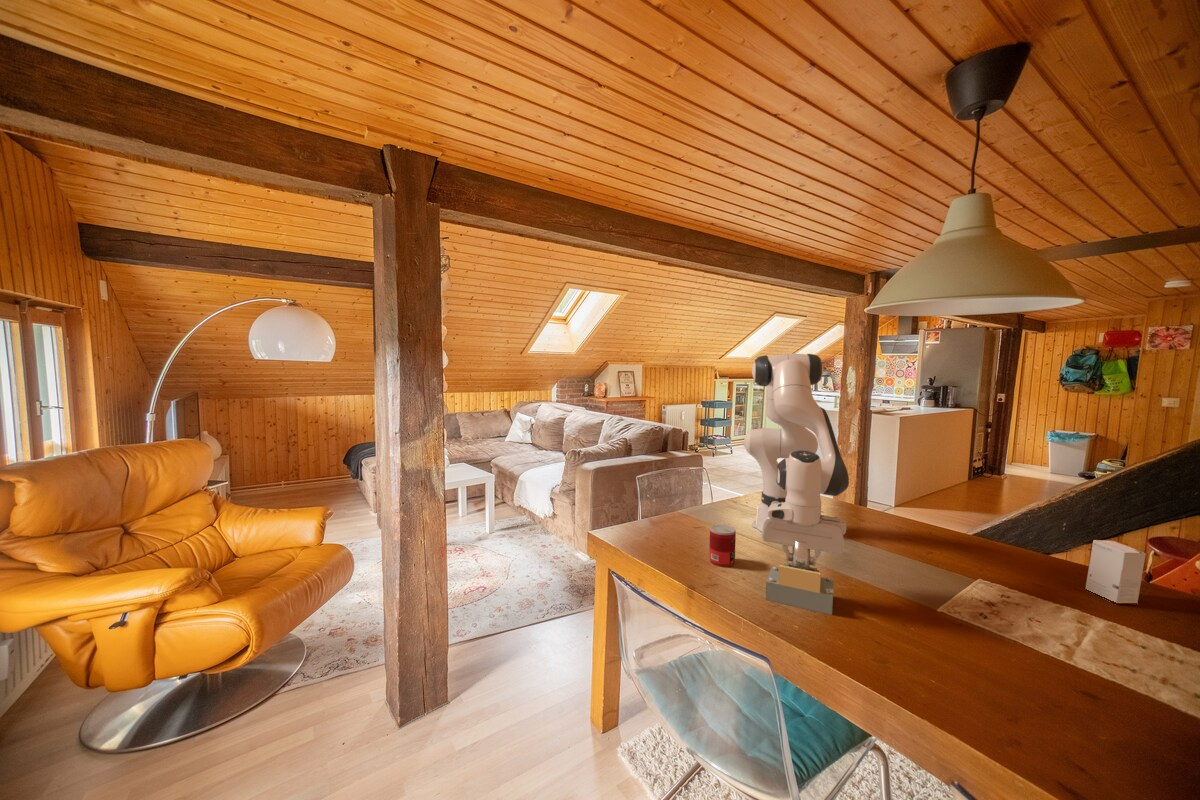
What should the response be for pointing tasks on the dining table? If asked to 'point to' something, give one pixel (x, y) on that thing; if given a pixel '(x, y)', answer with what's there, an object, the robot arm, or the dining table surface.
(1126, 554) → the skincare box
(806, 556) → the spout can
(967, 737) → the dining table surface
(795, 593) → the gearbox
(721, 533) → the canned food
